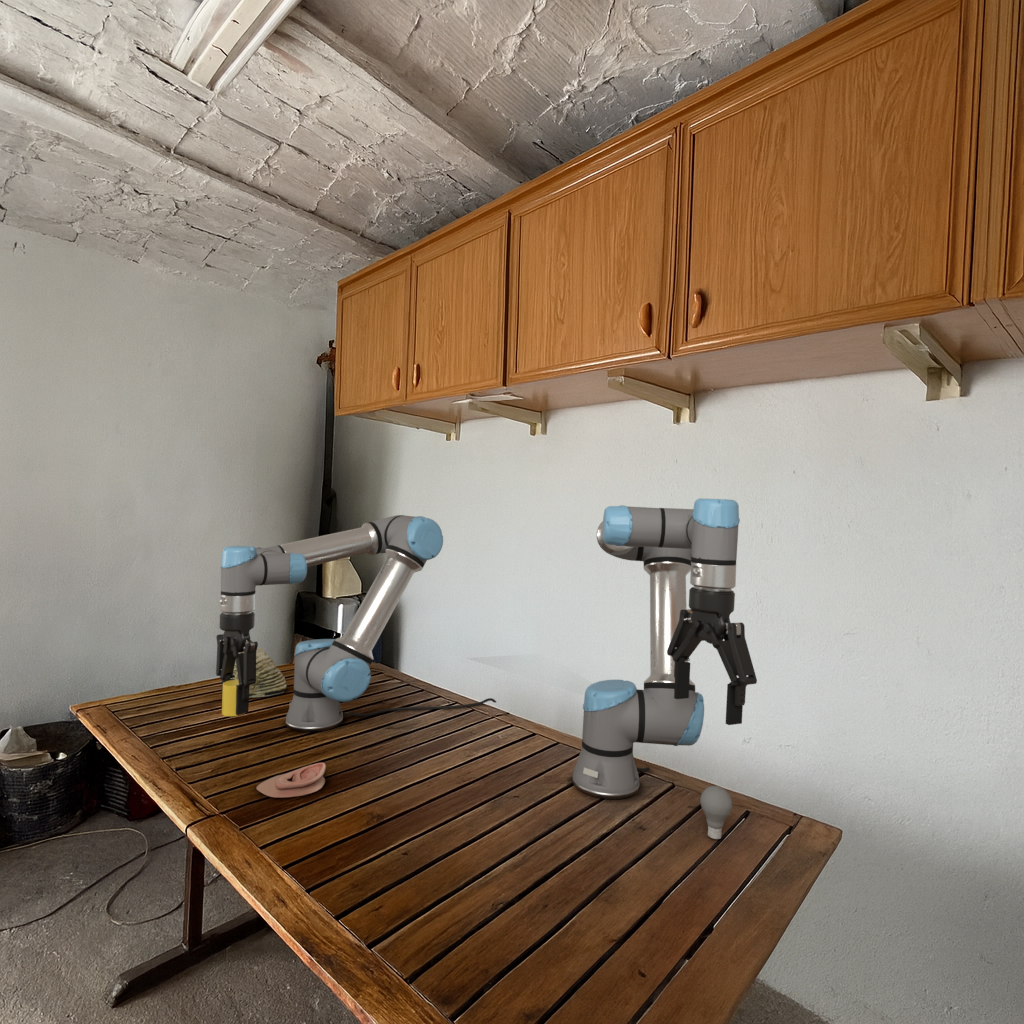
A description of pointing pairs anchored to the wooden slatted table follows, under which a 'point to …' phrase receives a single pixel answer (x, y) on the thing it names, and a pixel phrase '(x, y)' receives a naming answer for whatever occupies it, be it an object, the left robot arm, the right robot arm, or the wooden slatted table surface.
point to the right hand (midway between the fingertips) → (706, 710)
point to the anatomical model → (295, 782)
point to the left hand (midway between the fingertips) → (234, 710)
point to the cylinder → (229, 698)
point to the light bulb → (715, 809)
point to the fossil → (265, 677)
